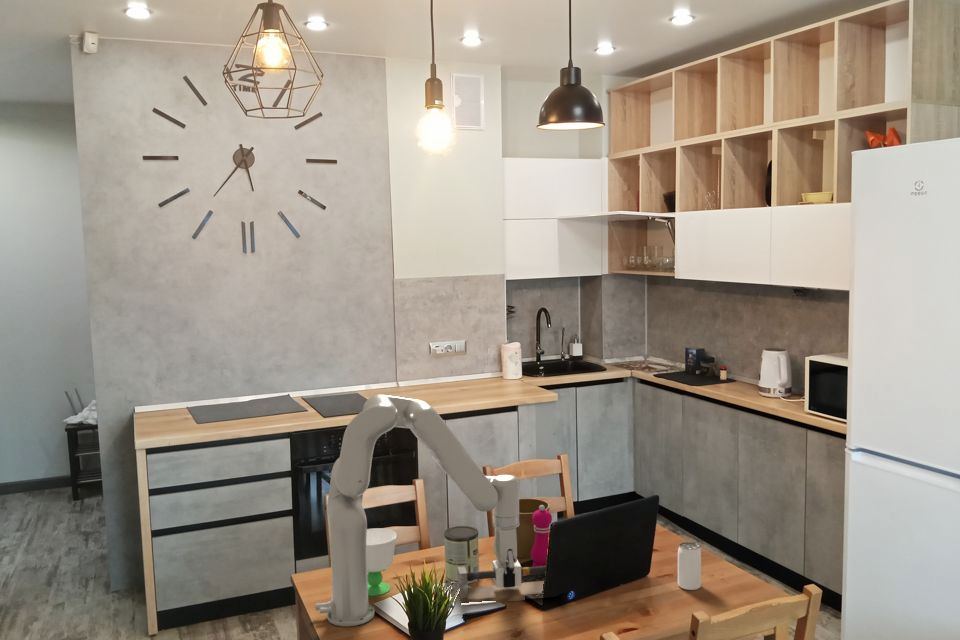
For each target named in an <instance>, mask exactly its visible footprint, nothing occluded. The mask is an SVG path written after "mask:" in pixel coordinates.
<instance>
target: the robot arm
mask: <svg viewBox="0 0 960 640" xmlns="http://www.w3.org/2000/svg"><path fill="white" fill-rule="evenodd" d="M393 428H403V429H410V431H411V433H412V434H413V435H414V437H416V438H417V440H418V441H419V442H420V443H421V445H422V446H423V447H424V448H425V450H426V451H427V453H428V454H429V455H430V457H431V458H432V459H433V460H434V461H435V463H436V464H437V465H438V466H439V468H440V469H441V470H442V471H443V472H444V473H445V474H446V475H447V476H448V477H449V478H450V479H451V480H452V481H453V483H454V484H455V485H456V486H457V487H458V488H459V490H460V491H461V492H462V493H463V495H464V496H465V498H466V499H467V500H468V502H469V503H470V504H471V506H473V508H474V509H475V510H477V511H479V512H482V513H483V512H484V513H485V512H489V511H491V510H492V526H493V527H494V539H493V540H494V541H493V542H494V545H493V546H494V548H493V550H494V551H493V552H494V555H495V557H496V559H497V560H498V561H499V563H500V564H502V563H504V573H503V583H504V587H505V588H507V587H515V568H514V563H516V562H517V560H518V556H517V535H516V528H517V527H518V526H519V525H520V524H519V499H520V486H519V485H520V481H519V478H518V477H517V476H515V475H513V474H499V475H496V476H495V475H492V476H491V475H485V474H484V472H483V471H482V470H481V468H480V467H479V466H478V465H477V464H476V462H475V461H474V459H473V458H472V456H471V455H470V453H469V452H468V451H467V450H468V449H466V448H465V446H464V445H463V443H461V441H460V440H459V439H458V437H457V436H456V434H455V433H454V432H453V431H452V430H451V428H450V427H449V426H448V425H447V423H446V422H445V421H444V420H443V418H442V417H441V416H440V414H439V413H438V411H436V409H435V408H434V407H433V406H431V404H429V403H428V402H427V401H424V400H421V399H413V398H408V397H407V398H405V397H400V396H393V395H387V394H375V395H371V396H370V397H369V398H368V399H366V401H365V402H364V404H363V406H362V411H360V412H359V413H358V414H356V415H355V416H354V417H353V418H352V420H350V422H349V423H348V424H347V426H346V428H345V431H344V433H343V437H342V442H341V448H340V454H339V457H338V458H337V459H336V460H335V462H334V463H333V466H332V468H331V469H332V470H331V475H330V483H329V488H328V489H329V490H328V495H327V496H328V497H327V504H326V505H327V506H326V513H327V516H328V518H327V519H328V524H329V537H330V538H329V543H330V544H329V545H330V547H329V548H330V549H329V550H330V571H331V574H330V575H331V597H330V598H331V600H327V602H317V603H315V611H316V612H317V611H319V613H320V614H326V615H327V616H326V619H327V621H328V623H330V624H331V625H334V626H338V627H356V626H359V625H364V624H365V623H367V622H370V620H372V619H373V618H374V616H375V608H374V606H372V605H371V604H369V596H368V573H367V548H366V537H367V529H368V522H367V521H368V520H367V515H366V511H365V510H364V507H363V499H364V497H363V496H364V494H365V492H366V491H367V489H368V487H369V486H370V481H371V469H372V464H373V463H372V461H373V455H374V451H375V450H374V449H375V445H376V442H377V441H378V439H379V438H380V437H381V436H382V435H384V434H385V433H388V432H390V431H392V429H393ZM506 560H508V562H506ZM507 564H509V567H507V566H506V565H507Z"/></svg>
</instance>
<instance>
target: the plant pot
mask: <svg viewBox="0 0 960 640" xmlns="http://www.w3.org/2000/svg"><path fill="white" fill-rule="evenodd" d="M540 505H544V507H545V509H544V510H547V511H549V512H550V504H549V503H548V502H547V501H546V500H544V499H543V500H542V499H538V498H530V497H529V498H528V497H527V498H519V524H520V525H519V526H518V527H517V528H516V535H517V557H520V558H522V559H523V558H524V559H529V558H531V550H532V547H533V545H534V543H535V539H536V532H535V531H534V525H535V524H534V523H533V521H532V516H533V514H534V512H535V511H537V510H539V506H540ZM531 559H532V558H531Z"/></svg>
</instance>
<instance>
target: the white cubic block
mask: <svg viewBox="0 0 960 640" xmlns="http://www.w3.org/2000/svg"><path fill="white" fill-rule="evenodd" d="M506 562H508V560H506ZM506 566H507V567H509V564H507V565H506ZM514 568H515V586H521V583H522V575H521V568H522V566H521V563H520V562H519V560H518V559H517V562H516V563H514ZM493 570H495V571H496V578H492V581H493V583H494V585H496V587H497V588H500V587H504V583H503V573H504V563H502V564H500V563H499V561H498V560H496V559H495V560H492V571H493Z"/></svg>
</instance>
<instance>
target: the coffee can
mask: <svg viewBox="0 0 960 640" xmlns="http://www.w3.org/2000/svg"><path fill="white" fill-rule="evenodd" d="M443 536H444V560H445V561H444V563H445V565H444V566H445V568H444V570H445V581H447V582H448V583H451V582H453V581H454V582H455V583H456V584H455V585H458V569H457V567H462V566H465V569H466V572H467V573H470V572H480V564H479V563H480V560H479V556H480V555H479V552H480V551H479V530H478V528H476V527H473V526H467V525H459V526H458V525H457V526H453V527H449V528H447V529H445V530H444V532H443ZM478 580H479V579H476V580H467V585H469V584H473V583H475V582H477V581H478ZM451 584H452V583H451Z"/></svg>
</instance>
